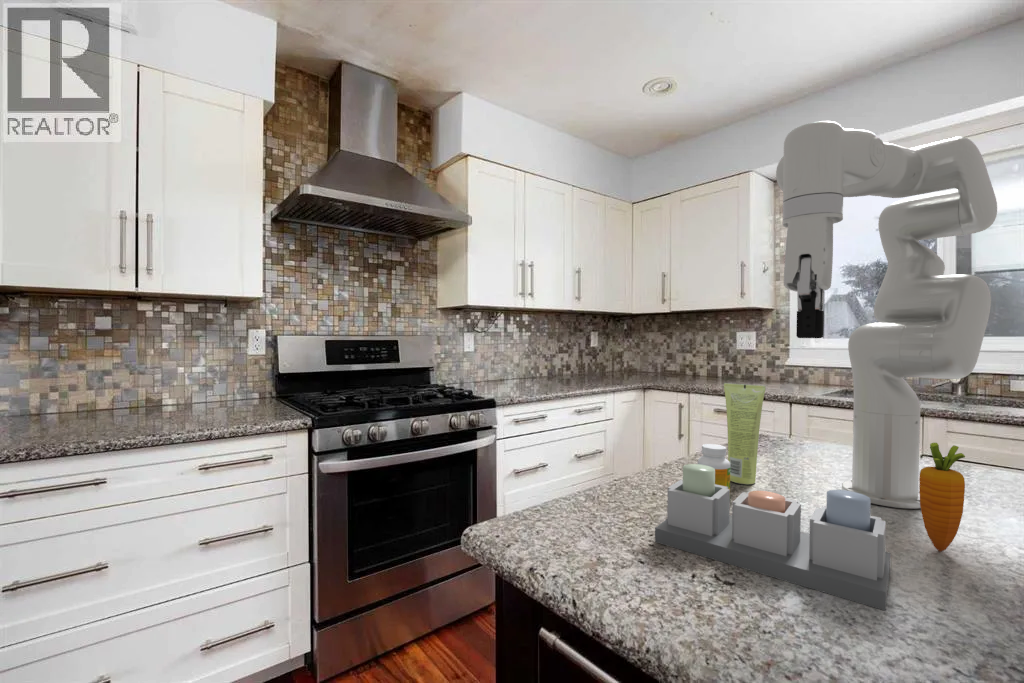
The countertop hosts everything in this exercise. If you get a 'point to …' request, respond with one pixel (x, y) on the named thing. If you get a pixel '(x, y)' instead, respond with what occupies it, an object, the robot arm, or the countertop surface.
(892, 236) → the robot arm
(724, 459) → the supplement bottle
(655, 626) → the countertop surface
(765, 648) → the countertop surface
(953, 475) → the carrot
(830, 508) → the button slate
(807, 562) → the three-cup grey tray
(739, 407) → the tube
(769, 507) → the button terracotta
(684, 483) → the button sage
